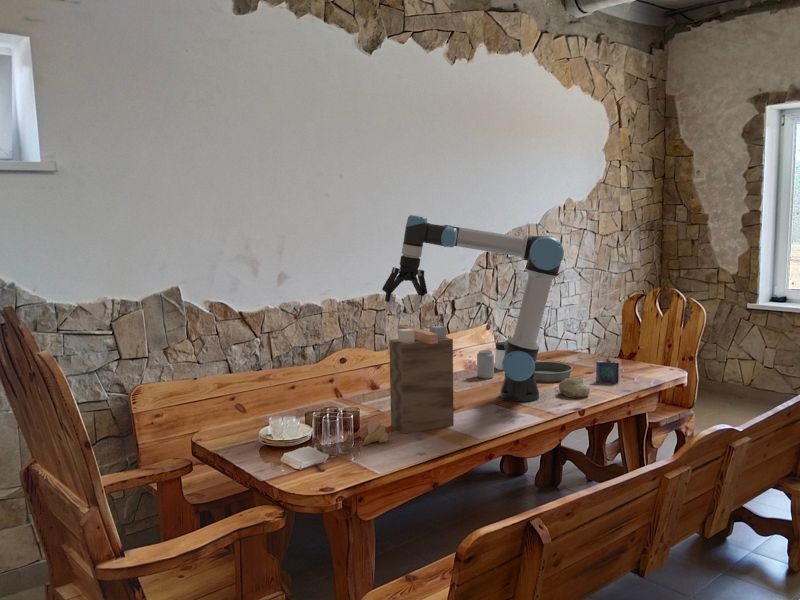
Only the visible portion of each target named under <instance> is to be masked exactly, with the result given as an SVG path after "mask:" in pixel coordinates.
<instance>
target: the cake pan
mask: <svg viewBox="0 0 800 600" xmlns="http://www.w3.org/2000/svg"><path fill="white" fill-rule="evenodd" d="M573 369H574V367H573V366H572V365H570V364H567V363H564V362H557V361H548V360H547V361H545V360H543V361H542V360H541V361H540V360H539V361H536V362H535V381H536V382H546V383H547V382H549V383H550V382H553V383H554V382H561V381H563V380H564V379H566V378H570V375H571V372H572V371H573Z"/></svg>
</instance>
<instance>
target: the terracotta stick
mask: <svg viewBox="0 0 800 600" xmlns="http://www.w3.org/2000/svg"><path fill="white" fill-rule="evenodd" d="M399 329H412V330H414V338H415V339H416V340H419V341H422V342H425V343H428V344H435V343H438V334H435V333H432V332H430V331H428V330H424V329H420V328H418V327H414V326H410V325H407V324H400V325H399V324H398V325H397V331H398V330H399Z"/></svg>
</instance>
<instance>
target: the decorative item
mask: <svg viewBox="0 0 800 600" xmlns="http://www.w3.org/2000/svg"><path fill="white" fill-rule="evenodd" d="M558 390H559V391H558V392H559V393H560V394H561V395H564V396H565V397H568V398H574V399H576V398H585V397H587V396H589V395H590V393H591V387H589V386H587V385H586V384H585V383H584V381H583V378H581V377H576V376H572V377H569V378H566V379H564V380H562V381H559V384H558Z"/></svg>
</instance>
